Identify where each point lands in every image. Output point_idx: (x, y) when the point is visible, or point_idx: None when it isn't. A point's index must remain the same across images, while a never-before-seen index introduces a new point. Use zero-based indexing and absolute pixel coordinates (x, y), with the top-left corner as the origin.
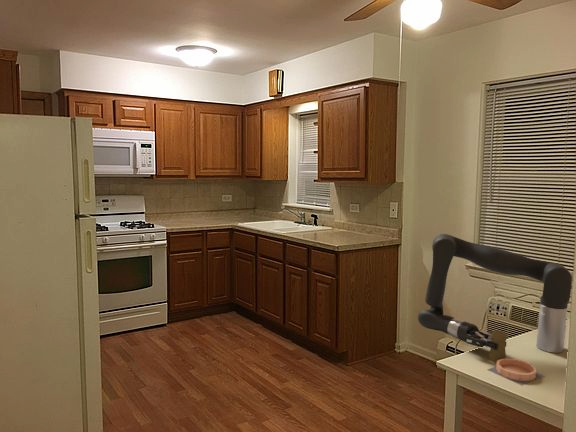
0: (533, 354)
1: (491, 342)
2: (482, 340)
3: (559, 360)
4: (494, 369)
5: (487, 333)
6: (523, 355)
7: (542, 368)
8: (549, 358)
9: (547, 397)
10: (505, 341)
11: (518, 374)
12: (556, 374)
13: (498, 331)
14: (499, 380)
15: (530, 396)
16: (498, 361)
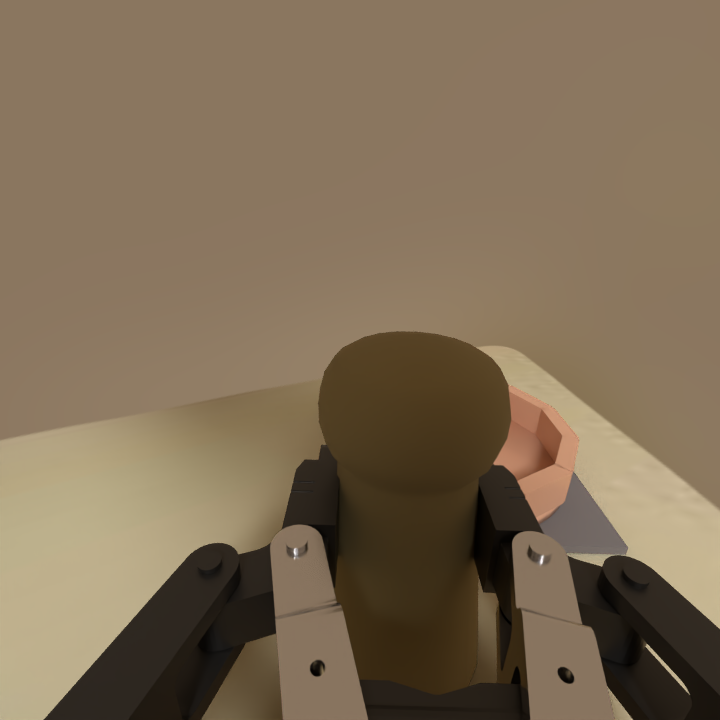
0: (7, 539)
1: (507, 494)
2: (620, 571)
3: (52, 437)
4: (562, 524)
5: (312, 688)
6: (83, 568)
7: (249, 435)
8: (45, 466)
9: None
10: (323, 445)
11: (516, 390)
12: (269, 396)
13: (425, 349)
14: (602, 462)
15: (541, 378)
16: (527, 484)
